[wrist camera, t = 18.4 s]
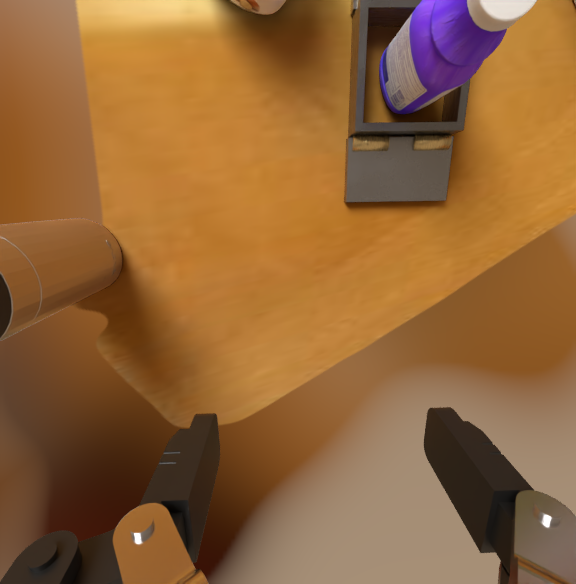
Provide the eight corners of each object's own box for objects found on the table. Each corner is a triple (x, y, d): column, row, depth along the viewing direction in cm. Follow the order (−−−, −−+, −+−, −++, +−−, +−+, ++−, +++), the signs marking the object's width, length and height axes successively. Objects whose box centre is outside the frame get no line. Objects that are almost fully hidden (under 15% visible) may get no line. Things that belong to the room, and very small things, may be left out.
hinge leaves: (344, 201, 39) (350, 202, 35) (353, -70, 31) (362, -102, 28) (441, 200, 39) (456, 200, 36) (472, -70, 32) (495, -102, 28)
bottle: (434, 107, 36) (567, 27, 19) (386, 125, 36) (476, 62, 20) (420, 36, 34) (555, -122, 17) (369, 56, 34) (454, -80, 18)
